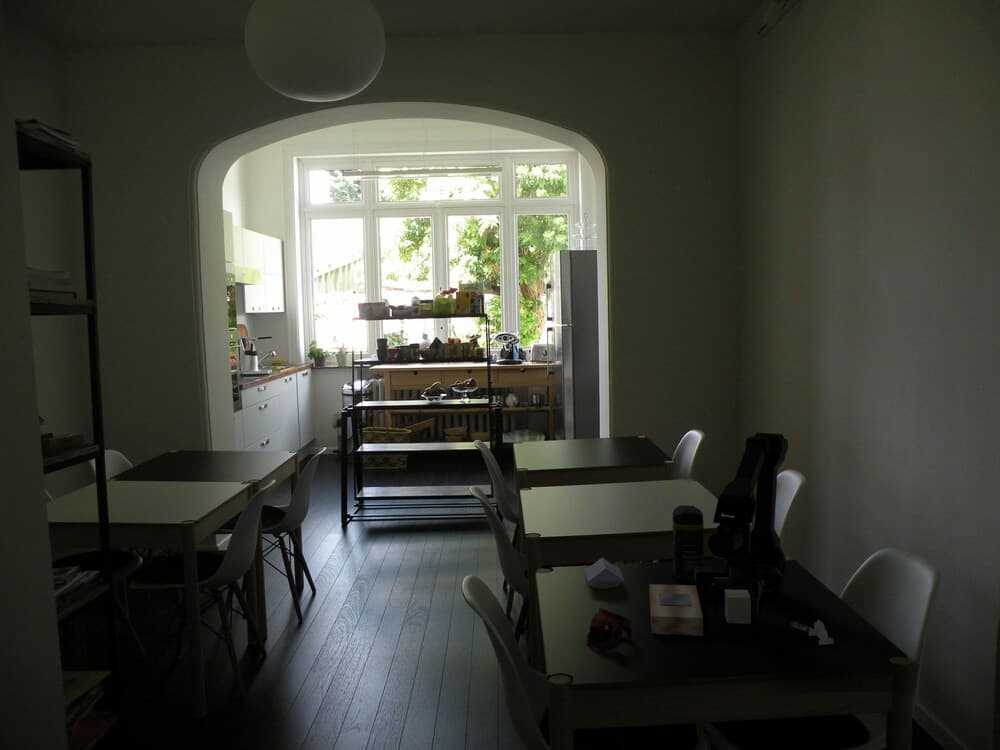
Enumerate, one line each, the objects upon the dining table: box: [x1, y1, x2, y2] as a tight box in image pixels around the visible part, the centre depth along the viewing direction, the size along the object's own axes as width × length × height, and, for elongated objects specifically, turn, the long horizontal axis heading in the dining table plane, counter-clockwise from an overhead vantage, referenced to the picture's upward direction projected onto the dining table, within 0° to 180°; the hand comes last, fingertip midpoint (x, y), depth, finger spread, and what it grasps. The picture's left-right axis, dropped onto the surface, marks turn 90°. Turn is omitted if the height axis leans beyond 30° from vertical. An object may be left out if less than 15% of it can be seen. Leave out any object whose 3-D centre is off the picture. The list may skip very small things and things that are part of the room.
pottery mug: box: [585, 608, 633, 652], centre depth 170 cm, size 12×10×8 cm
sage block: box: [724, 589, 752, 625], centre depth 181 cm, size 5×5×6 cm
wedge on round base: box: [584, 557, 625, 589], centre depth 206 cm, size 9×7×13 cm
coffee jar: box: [671, 505, 705, 583], centre depth 209 cm, size 10×8×19 cm
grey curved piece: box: [790, 619, 834, 646], centre depth 173 cm, size 15×7×4 cm, turn 3°
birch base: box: [648, 583, 704, 637], centre depth 183 cm, size 11×20×4 cm, turn 171°
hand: (737, 612), depth 181 cm, fingers open, 9 cm apart
